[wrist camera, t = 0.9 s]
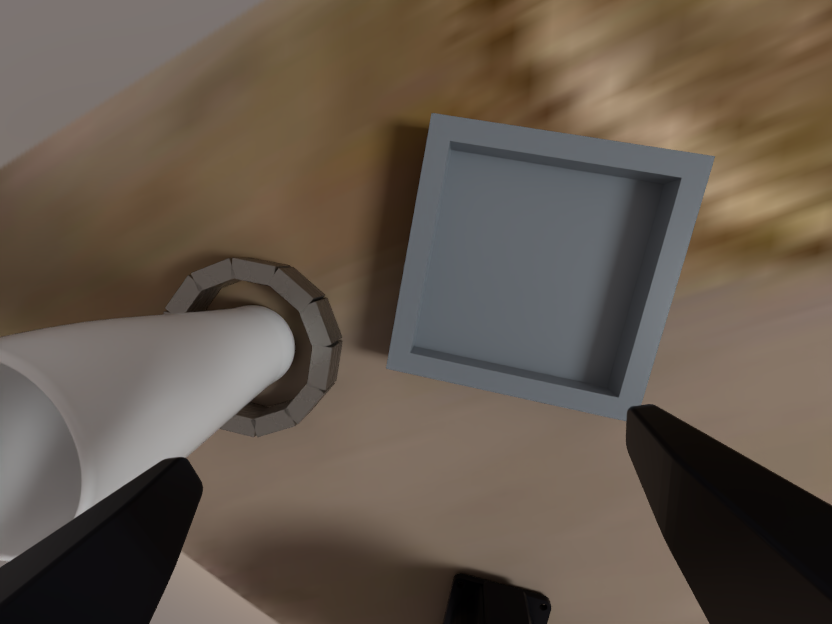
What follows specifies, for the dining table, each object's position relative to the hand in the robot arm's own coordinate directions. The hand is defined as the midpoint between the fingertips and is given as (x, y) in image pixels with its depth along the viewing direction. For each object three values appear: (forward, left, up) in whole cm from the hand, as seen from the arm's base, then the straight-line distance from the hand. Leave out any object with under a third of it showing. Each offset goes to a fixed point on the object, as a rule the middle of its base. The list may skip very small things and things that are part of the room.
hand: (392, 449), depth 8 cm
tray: (+4, -5, -16) cm, 17 cm away
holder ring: (-4, +11, -16) cm, 21 cm away
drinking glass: (-4, +11, -17) cm, 21 cm away
